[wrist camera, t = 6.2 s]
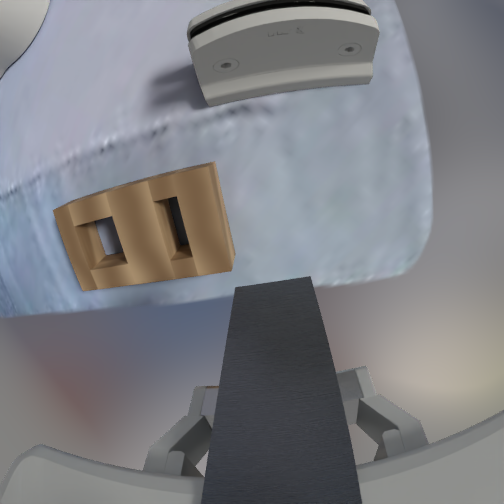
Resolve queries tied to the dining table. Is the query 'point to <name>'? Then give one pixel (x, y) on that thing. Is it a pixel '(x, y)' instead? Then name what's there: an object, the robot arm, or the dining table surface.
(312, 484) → the steel peg
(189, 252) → the socket block
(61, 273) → the dining table surface
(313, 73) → the grey piece
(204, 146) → the dining table surface
